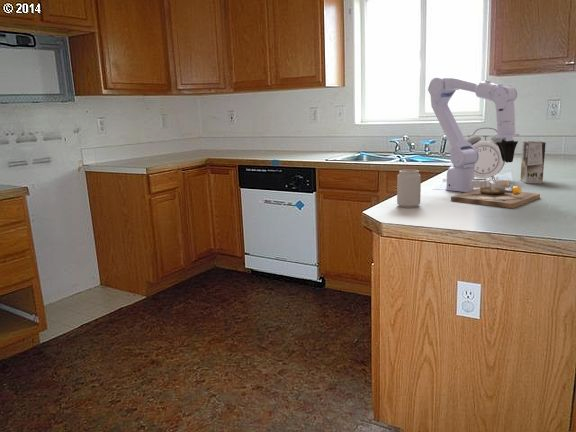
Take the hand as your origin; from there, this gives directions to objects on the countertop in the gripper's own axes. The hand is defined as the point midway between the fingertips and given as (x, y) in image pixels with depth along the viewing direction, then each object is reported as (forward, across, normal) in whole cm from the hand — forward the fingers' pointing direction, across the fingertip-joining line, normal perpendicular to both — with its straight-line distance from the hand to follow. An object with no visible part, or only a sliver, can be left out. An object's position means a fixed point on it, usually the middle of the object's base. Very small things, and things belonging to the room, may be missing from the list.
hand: (507, 161), depth 169 cm
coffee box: (+11, +32, -12) cm, 36 cm away
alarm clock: (+10, +36, +5) cm, 37 cm away
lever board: (+12, -7, +5) cm, 15 cm away
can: (+11, -20, +33) cm, 40 cm away
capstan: (+10, -5, +5) cm, 12 cm away
